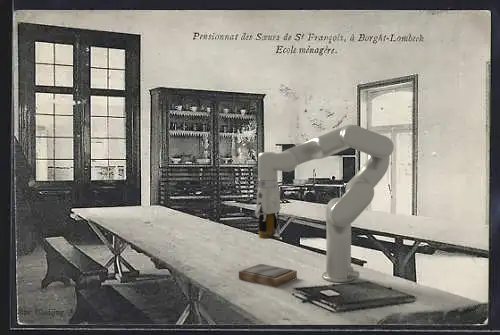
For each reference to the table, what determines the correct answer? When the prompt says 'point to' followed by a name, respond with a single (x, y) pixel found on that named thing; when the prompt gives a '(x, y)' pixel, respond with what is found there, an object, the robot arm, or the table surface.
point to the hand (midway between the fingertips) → (268, 229)
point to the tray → (267, 275)
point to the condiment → (268, 228)
